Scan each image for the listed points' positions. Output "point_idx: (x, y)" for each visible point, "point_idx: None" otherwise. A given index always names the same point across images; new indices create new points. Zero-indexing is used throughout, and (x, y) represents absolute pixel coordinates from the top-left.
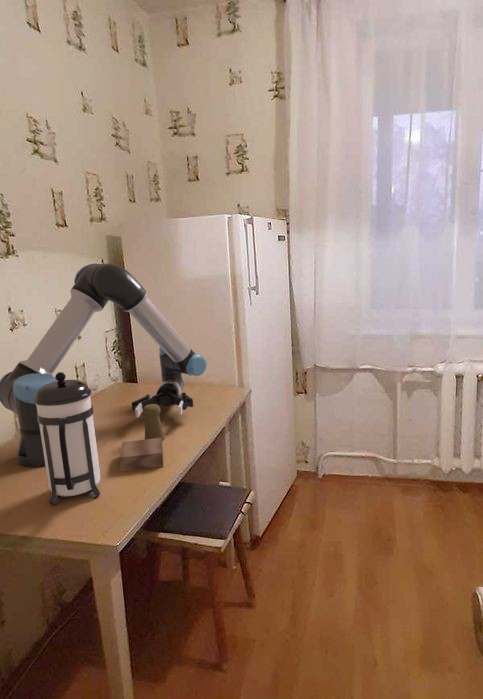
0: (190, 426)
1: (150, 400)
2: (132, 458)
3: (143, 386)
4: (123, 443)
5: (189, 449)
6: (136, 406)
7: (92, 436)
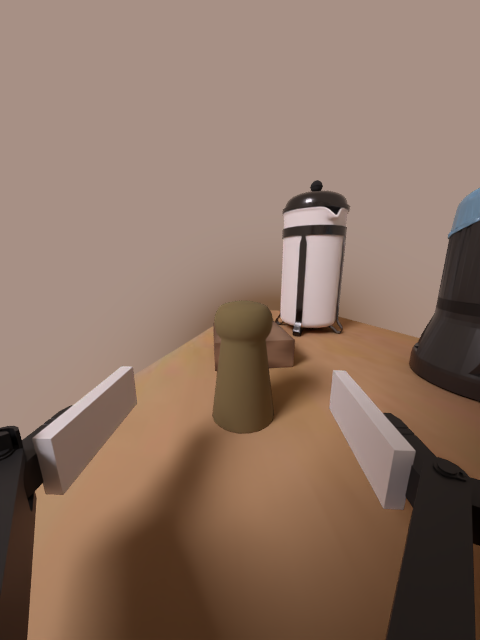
0: (73, 510)
1: (396, 603)
2: None
3: None
4: (289, 337)
5: (160, 370)
6: (408, 437)
7: (282, 263)
